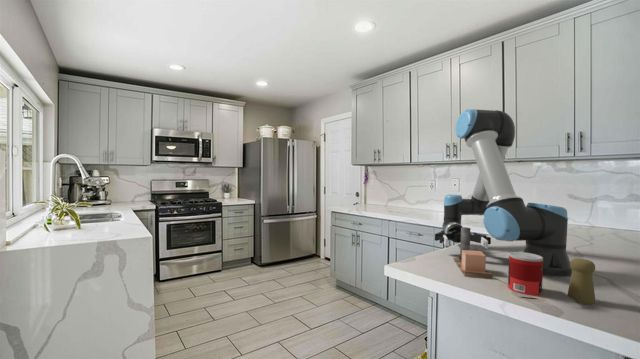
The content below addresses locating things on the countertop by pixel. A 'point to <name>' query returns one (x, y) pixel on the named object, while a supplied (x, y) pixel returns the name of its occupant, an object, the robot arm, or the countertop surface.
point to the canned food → (525, 273)
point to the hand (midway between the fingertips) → (466, 243)
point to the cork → (582, 282)
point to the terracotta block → (473, 261)
